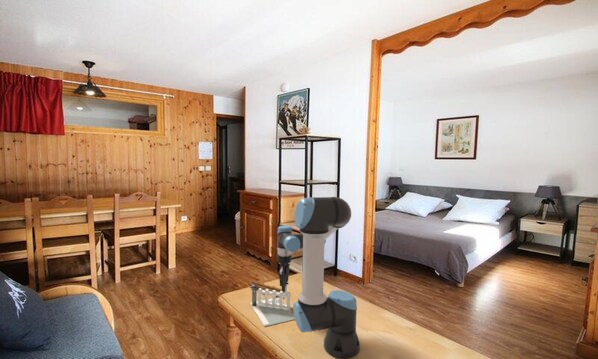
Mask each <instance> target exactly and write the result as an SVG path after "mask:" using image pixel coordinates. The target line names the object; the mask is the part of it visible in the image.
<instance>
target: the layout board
mask: <svg viewBox="0 0 598 359" xmlns="http://www.w3.org/2000/svg"><path fill="white" fill-rule="evenodd" d="M262 301H264V302H265V299H262ZM269 302H271V303H272V297H271V298H269ZM276 303H278V304H279V296H278V297H277V298H276ZM249 304H250V306H251V308H252V309H253V311H254V312H255V314H256V316H257V318H258V319H259V320H260V323H261V324H262V325H263V327H265V326H266V327H269V326H273V325H277V324H282V323H285V322H286V323H287V322H291V321H294V320H295V317H294V312H293V311H291V310H290V309H289V310H287V309H286V308H282V309H280V308H279V307H275V308H273V307H272V306H268V307H267V306H265V305H261V306H260V305H258V300H257V305H256V306H252V301H251V302H249ZM283 304H284V305H286V304H285V302H283Z"/></svg>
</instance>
